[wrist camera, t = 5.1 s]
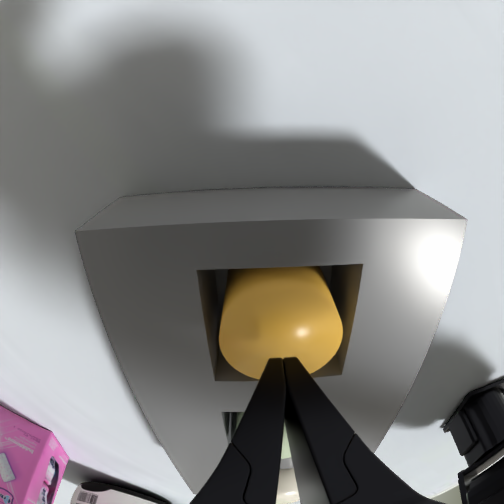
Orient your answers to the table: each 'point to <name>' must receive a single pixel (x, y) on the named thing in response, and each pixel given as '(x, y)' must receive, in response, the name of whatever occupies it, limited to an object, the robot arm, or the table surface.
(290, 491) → the cream button
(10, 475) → the gum box
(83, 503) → the milk container
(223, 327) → the amber button
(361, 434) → the button panel
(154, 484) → the table surface
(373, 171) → the table surface
